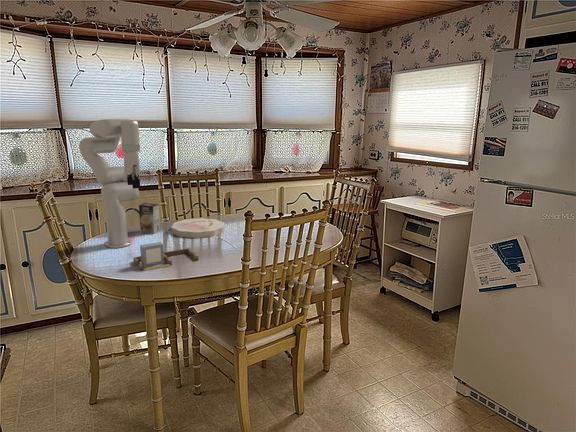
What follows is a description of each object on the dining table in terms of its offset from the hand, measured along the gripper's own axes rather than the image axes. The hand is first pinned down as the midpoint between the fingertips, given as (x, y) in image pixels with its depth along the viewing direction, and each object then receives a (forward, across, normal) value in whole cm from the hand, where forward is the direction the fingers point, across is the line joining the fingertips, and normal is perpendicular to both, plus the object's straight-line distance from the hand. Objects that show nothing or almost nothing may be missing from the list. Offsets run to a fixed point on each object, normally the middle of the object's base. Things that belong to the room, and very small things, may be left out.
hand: (133, 186), depth 185 cm
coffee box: (+34, -37, +15) cm, 52 cm away
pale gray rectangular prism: (+33, +14, +3) cm, 36 cm away
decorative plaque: (+34, -27, +40) cm, 59 cm away
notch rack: (+33, +14, +9) cm, 37 cm away
